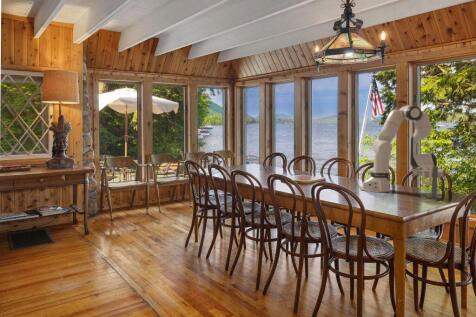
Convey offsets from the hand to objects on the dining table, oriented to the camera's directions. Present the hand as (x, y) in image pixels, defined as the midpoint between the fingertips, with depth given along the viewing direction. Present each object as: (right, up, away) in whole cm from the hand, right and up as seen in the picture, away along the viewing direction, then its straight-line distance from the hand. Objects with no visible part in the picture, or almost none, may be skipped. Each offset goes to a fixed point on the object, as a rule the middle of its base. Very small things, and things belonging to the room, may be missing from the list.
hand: (426, 174), depth 274 cm
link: (0, -7, +1) cm, 7 cm away
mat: (0, -15, +2) cm, 15 cm away
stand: (0, -16, -9) cm, 19 cm away
